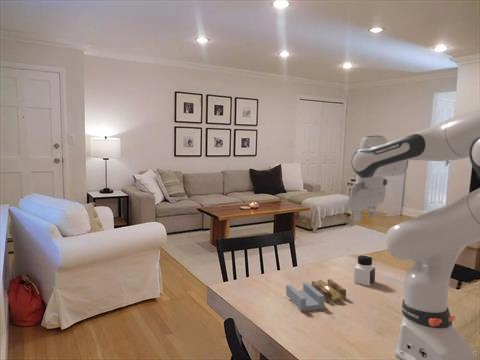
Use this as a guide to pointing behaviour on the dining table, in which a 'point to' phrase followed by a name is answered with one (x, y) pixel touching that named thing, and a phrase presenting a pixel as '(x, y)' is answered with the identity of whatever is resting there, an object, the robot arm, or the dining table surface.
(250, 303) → the dining table surface
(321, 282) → the axle
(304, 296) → the cradle
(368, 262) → the medicine bottle
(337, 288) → the pair of brown bars
